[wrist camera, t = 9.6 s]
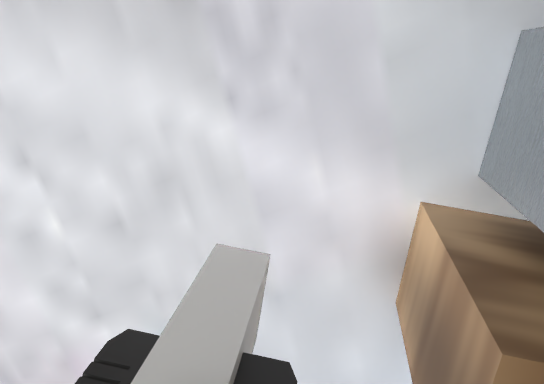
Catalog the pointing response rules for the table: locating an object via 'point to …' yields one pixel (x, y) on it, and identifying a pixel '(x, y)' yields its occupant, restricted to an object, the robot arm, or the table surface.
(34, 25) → the table surface
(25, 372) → the table surface
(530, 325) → the plug
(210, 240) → the table surface
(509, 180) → the housing
